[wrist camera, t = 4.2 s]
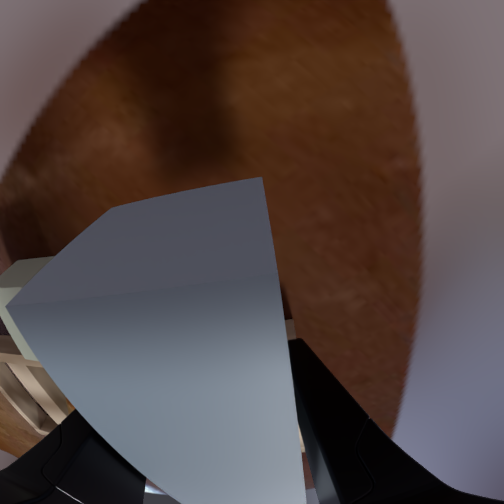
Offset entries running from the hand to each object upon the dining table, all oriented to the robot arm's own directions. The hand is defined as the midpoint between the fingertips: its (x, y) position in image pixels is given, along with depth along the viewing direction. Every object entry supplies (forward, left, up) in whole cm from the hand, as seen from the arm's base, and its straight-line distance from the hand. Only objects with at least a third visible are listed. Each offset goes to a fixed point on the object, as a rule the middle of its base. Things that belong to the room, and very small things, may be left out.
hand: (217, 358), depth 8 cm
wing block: (0, 0, -1) cm, 1 cm away
